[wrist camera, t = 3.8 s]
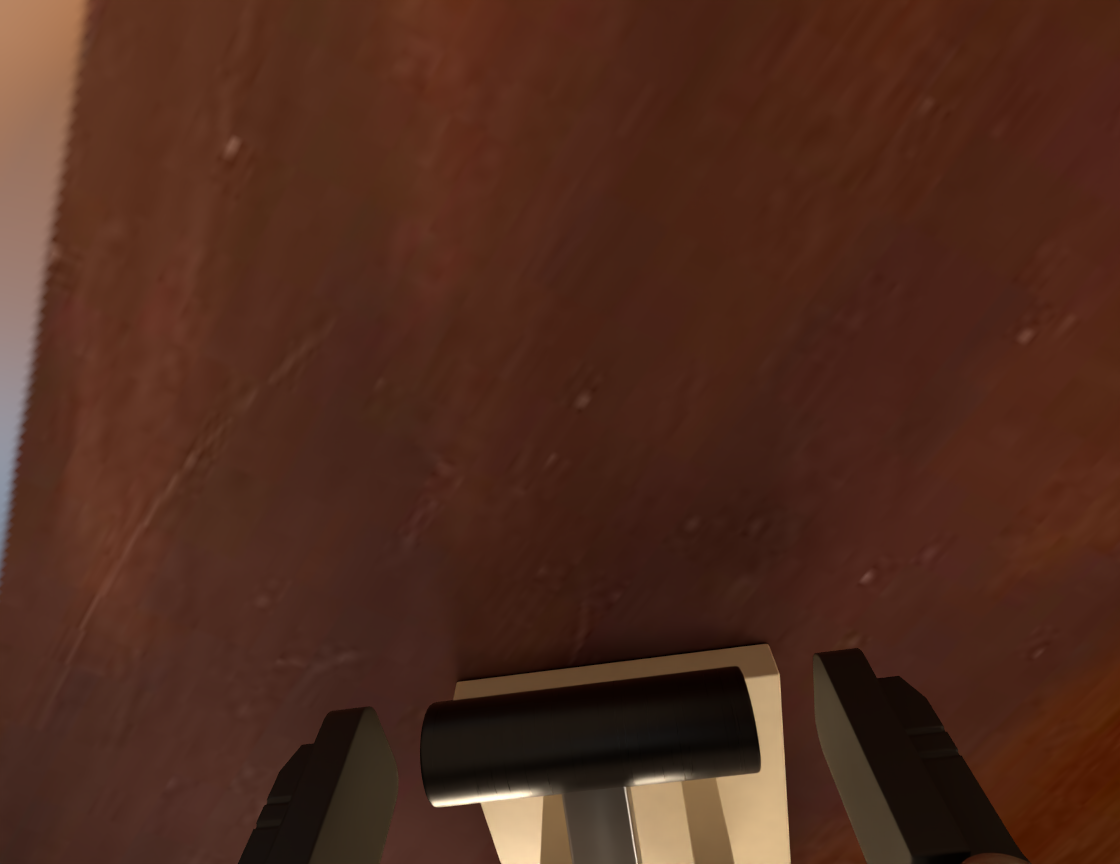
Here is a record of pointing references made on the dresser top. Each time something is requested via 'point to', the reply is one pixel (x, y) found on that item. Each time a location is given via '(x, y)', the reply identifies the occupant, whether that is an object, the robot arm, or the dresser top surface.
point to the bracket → (668, 808)
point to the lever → (591, 749)
